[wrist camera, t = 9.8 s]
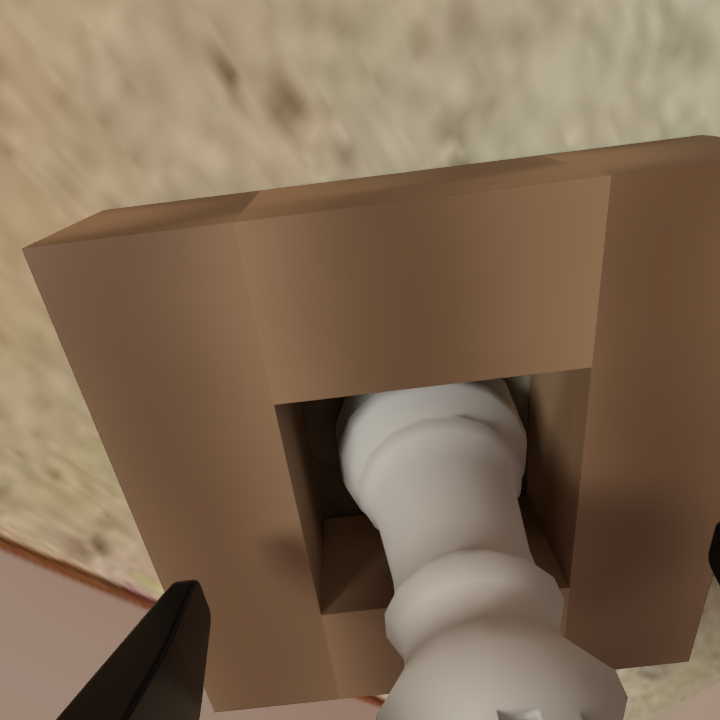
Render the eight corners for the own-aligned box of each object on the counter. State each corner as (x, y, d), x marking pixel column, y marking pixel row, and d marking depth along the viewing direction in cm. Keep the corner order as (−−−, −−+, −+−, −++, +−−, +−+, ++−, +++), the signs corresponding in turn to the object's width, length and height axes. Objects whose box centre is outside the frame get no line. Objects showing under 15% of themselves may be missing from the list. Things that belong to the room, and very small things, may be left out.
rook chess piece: (311, 369, 12) (269, 745, 5) (497, 319, 12) (735, 655, 5) (362, 506, 14) (383, 918, 7) (523, 468, 14) (718, 864, 7)
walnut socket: (701, 135, 10) (831, 148, 8) (628, 565, 16) (688, 661, 13) (103, 210, 10) (21, 249, 8) (235, 608, 16) (214, 712, 13)
